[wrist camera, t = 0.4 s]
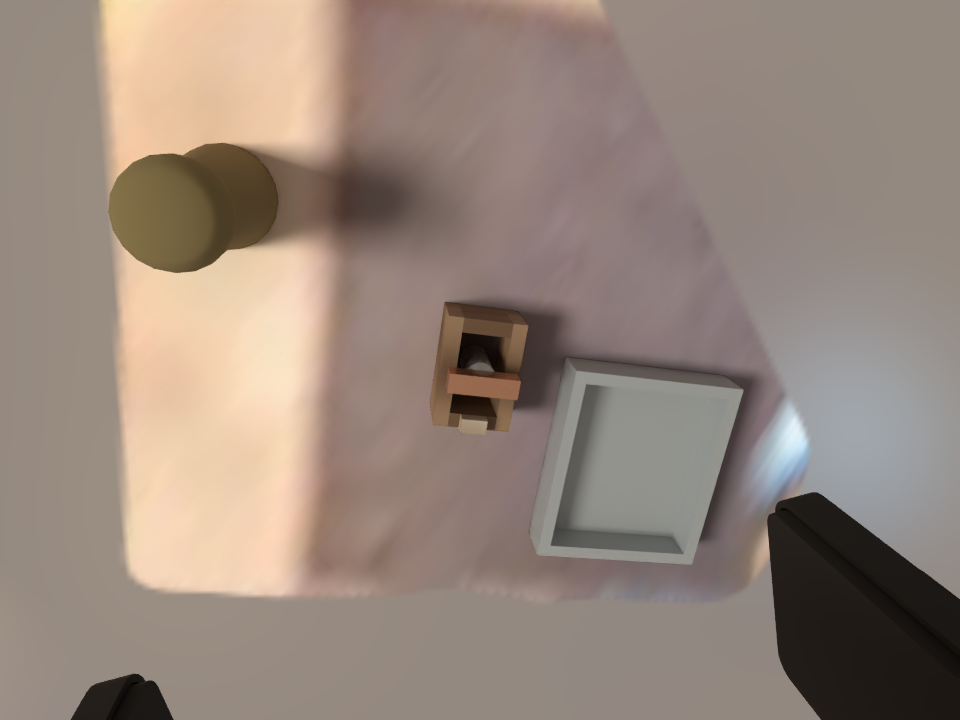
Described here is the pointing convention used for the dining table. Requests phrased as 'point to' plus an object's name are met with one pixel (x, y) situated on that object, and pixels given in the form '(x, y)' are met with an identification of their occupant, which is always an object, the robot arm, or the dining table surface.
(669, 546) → the tray
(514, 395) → the brown grey t-shaped piece
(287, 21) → the dining table surface
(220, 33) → the dining table surface
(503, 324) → the collar
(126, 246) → the cork
